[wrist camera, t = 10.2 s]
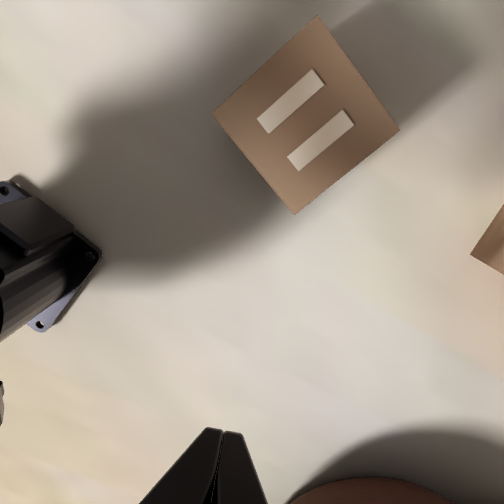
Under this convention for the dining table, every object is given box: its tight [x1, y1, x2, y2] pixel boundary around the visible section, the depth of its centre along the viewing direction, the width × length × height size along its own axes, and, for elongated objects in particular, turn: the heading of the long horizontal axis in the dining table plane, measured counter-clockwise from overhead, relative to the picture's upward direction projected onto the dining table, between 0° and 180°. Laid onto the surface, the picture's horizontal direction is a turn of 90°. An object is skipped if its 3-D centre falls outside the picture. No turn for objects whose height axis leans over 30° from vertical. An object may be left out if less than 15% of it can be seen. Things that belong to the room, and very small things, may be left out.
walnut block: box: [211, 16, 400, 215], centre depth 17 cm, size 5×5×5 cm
